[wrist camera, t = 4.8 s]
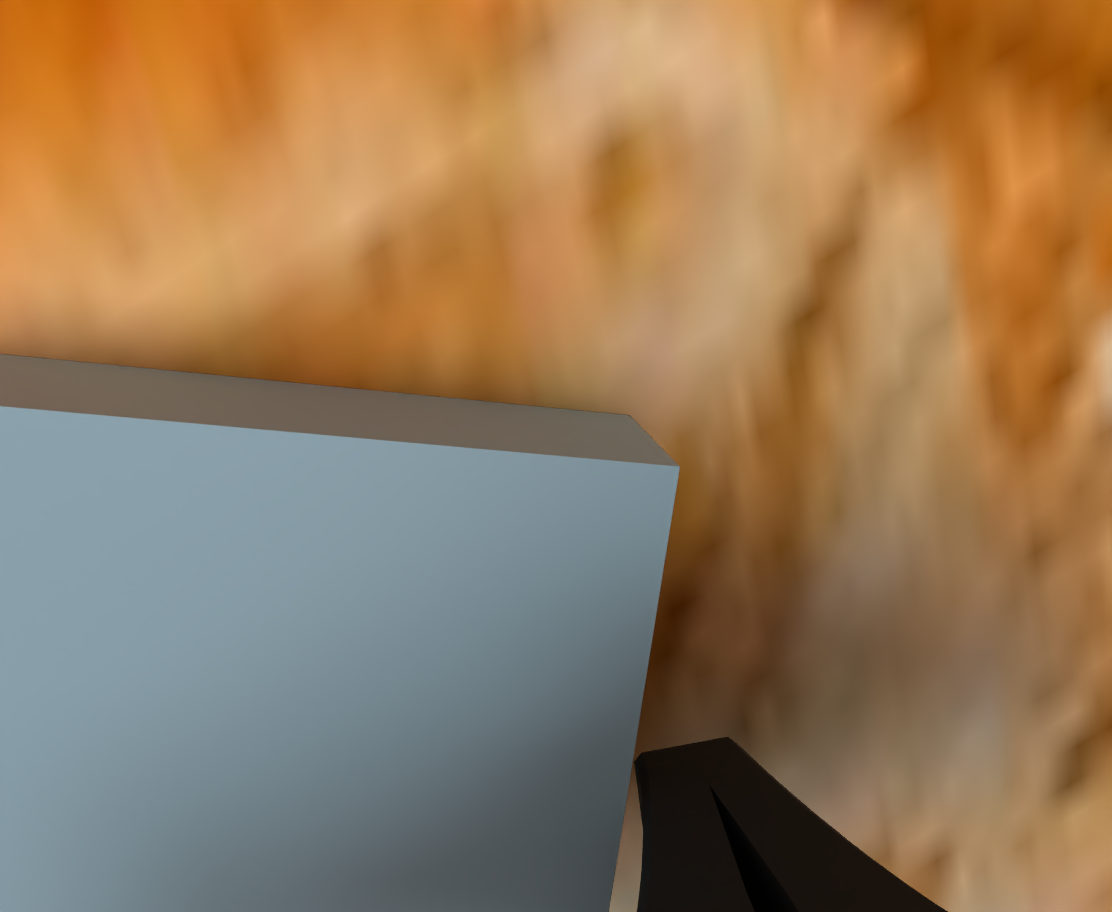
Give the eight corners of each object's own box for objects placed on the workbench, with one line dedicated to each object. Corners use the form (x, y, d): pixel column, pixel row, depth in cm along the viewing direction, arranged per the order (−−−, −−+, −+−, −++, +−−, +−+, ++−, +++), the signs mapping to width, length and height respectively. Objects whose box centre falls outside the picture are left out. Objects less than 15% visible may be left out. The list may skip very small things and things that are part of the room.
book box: (528, 1054, 14) (545, 1301, 11) (55, 1059, 13) (-87, 1333, 10) (618, 403, 11) (680, 466, 8) (25, 345, 10) (-188, 388, 7)
